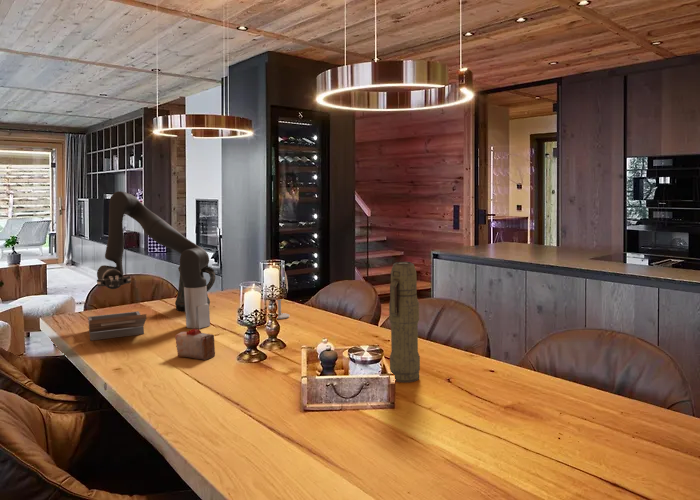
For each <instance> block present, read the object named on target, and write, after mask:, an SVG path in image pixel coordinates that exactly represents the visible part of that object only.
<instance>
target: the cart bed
mask: <svg viewBox="0 0 700 500" xmlns="http://www.w3.org/2000/svg"><path fill="white" fill-rule="evenodd" d="M134 315H141V313H140V311H139V310H138V311H130V312H128V311H127V312H120V313H119V312H118V313H110V314H103V315H102V314H101V315H93V316H88V317H87V318H88V319H87V321H88V323H89V320H98V319H107V318H116V317H125V316H134ZM144 329H145V328H144V326H141V327H133V328H125V329H116V330H108V331H99V332H91V333H90V330H89V329H88V333H89V340H90V341H98V340H107V339H114V338H115V339H116V338H121V337H130V336H131V337H132V336H137V335H139V334H140V335H145V330H144Z"/></svg>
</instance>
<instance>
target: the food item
mask: <svg viewBox="0 0 700 500" xmlns="http://www.w3.org/2000/svg"><path fill="white" fill-rule="evenodd" d="M174 337H175V339H174V340H175V347H176V351H177V358H188V359H196V360H200V361H201V360H203V361H207V360H209V359H211V358H215V356H216V349H215V348H216V347H215V335H214V334H211V333H205V332H202V331H201V330H200V329H199V328H191V329H189V330H188V331H180V332H179V333H177V334H175V336H174Z"/></svg>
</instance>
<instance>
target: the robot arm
mask: <svg viewBox="0 0 700 500" xmlns="http://www.w3.org/2000/svg"><path fill="white" fill-rule="evenodd" d="M108 206H109V207H108V208H109V209H108V211H109V212H108V213H109V217H108V236H107V242H106V243H107V244H106V248H105V253H104V258H105V260H108V261H109V262H110V261H111V262H113V263H114V264H115V266H114V265H101V266H99V268H98V269H97V271H96V277H97V279H96V285H97V287H106V288H107V289H110V290H115V289H118V288H120V287H122V286H123V285H126V284H130V283H131V282H132V279H131V276H130V275H128V276H124V267H123V257H124V255H123V254H124V249H125V245H126V244H125V233H124V228H123V227H124V226H123V222H124V221H123V220H124V216H125V215H126V216H129V217H130V218H131V219H133V220H135V222H137V223H138V224H139V225H140V227H141V228H142V230H143V231H144V233H145V234H146V235H147V236H149V238H151V239H152V240H153V241H154V242H155V243H157V244H159V245H161V246H163V247H165V248H168V249H170V250H173V251H175V252H177V253H179V254H180V257H179V266H180V269H181V278H182V281H183V283H184V296H185V312H184V313H185V327H186V328H187V329H198V328H199V330H200V329H204V328H206V327H210V326H211V318H210V316H211V315H210V314H211V313H210V305H209V304H207V295H208V292H207V279H206V278H205V277H204V278H202V277H201V275H200V269H202V268H204V267H206V266H207V265H208V266H209V263H210V257H209V254H208V252H207V251H206V250H205V249H204V248H202V247H201V246H199V245H198V244H196V243H194V242H193V241H191V240H190V239H189V238H187V237H185V236H184V235H183V234H182V233H180V231H178V230H177V229H176V228H174V227H173V226H172V225H171V224H169V223H168V222H167V221H166V220H164V219H163V218H161V217H160V216H159V215H157V214H156V213H154V212H152V210H150V209H149V208H147V207H146V206H145V205H144V204H143V203H142V202H141V201H140V200H139V199H138V198H137V197H136V196H135V195H134V194H131V193H128V192H125V191H121V190H120V191H119V190H118V191H115V192H113V194H111V196H110V199H109V205H108Z"/></svg>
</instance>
